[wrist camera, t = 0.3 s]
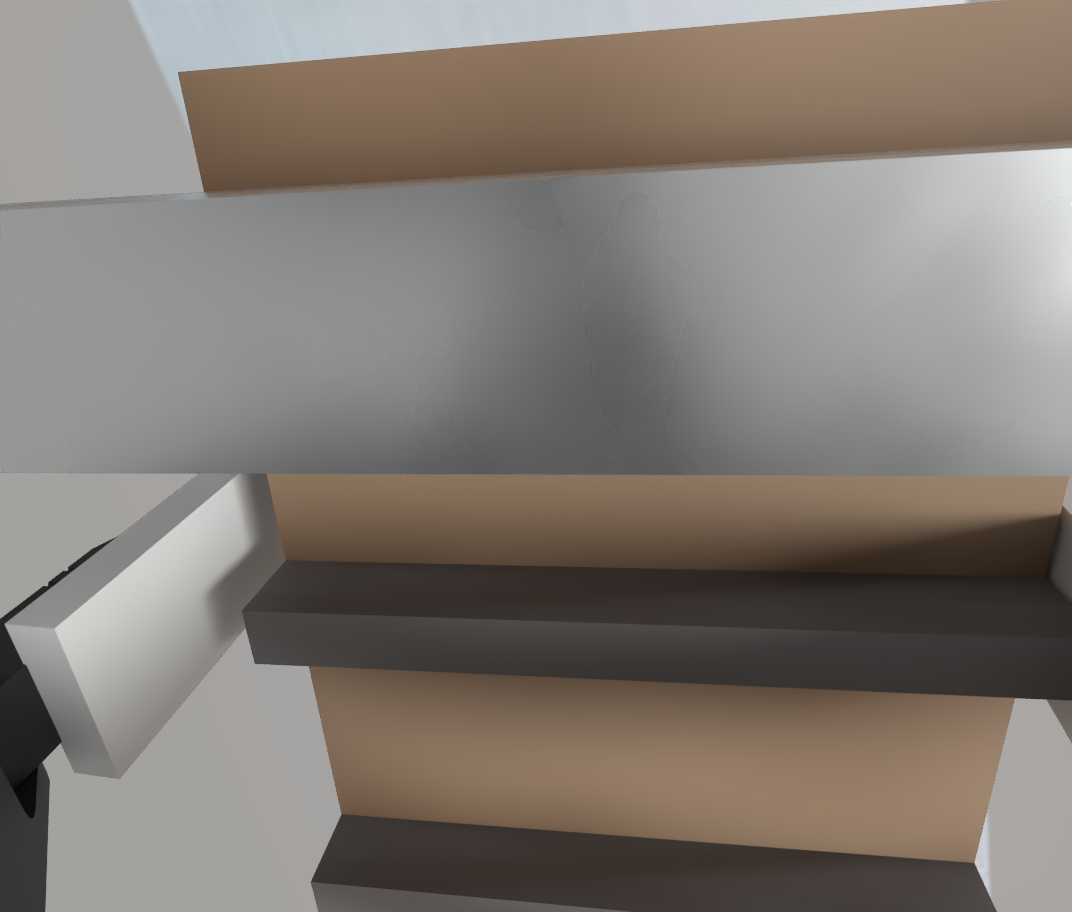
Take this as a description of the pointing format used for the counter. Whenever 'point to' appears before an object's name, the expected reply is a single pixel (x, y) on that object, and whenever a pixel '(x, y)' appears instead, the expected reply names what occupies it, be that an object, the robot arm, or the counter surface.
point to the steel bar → (555, 322)
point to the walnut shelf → (658, 526)
